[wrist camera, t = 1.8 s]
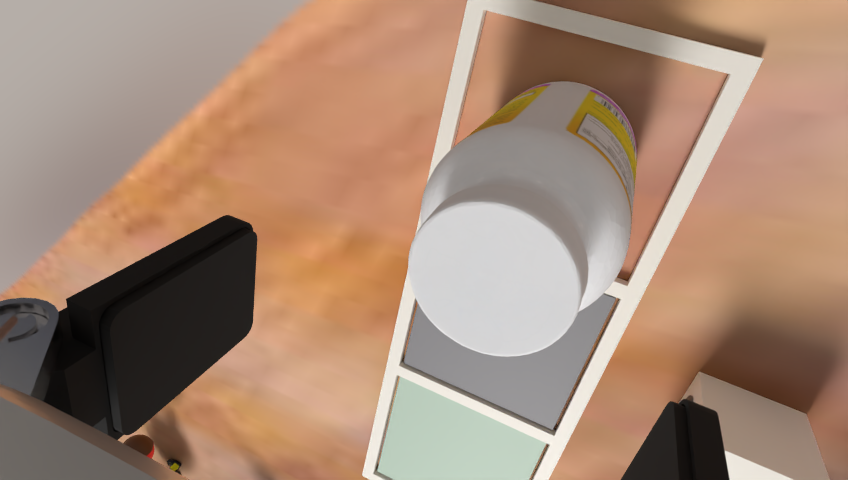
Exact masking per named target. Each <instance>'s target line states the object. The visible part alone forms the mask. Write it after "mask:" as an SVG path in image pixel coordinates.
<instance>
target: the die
mask: <svg viewBox="0 0 848 480" xmlns="http://www.w3.org/2000/svg"><path fill="white" fill-rule="evenodd" d="M683 399H687V400H690V401H692V402H695V403H697V404H700V405H702V406H705V407H707V408H710V409H712V410H715V411H716V412H717V413H718V416H719V422H720V428H721V433H722V439H723V445H724V450H725V456H726V462H727V468H728V473H729V479H730V480H830V478H829V475H828V473H827V470H826V467H825V464H824V462H823V459H822V456H821V453H820V450H819V448H818V445H817V442H816V439H815V436H814V434H813V431H812V428H811V425H810V422H809V420H808V417H807V414H805V413H803V412H800V411H798V410H795V409H793V408H790V407H788V406H785V405H783V404H780V403H778V402H775V401H772V400H770V399H767V398H765V397H762V396H760V395H757V394H755V393H752V392H750V391H747V390H745V389H742V388H740V387H737V386H735V385H732V384H730V383H727V382H725V381H722V380H720V379H717V378H715V377H712V376H710V375H707V374H704V373H702V372H698V374H697V375H696V377H695V378H694V380H693V382H692V383H691V385H690V386H689V388H688V389H687V391H686V393H685V394H684V396H683V397H682V399H681V400H683ZM681 400H680V401H681ZM678 404H679V403H678Z"/></svg>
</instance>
